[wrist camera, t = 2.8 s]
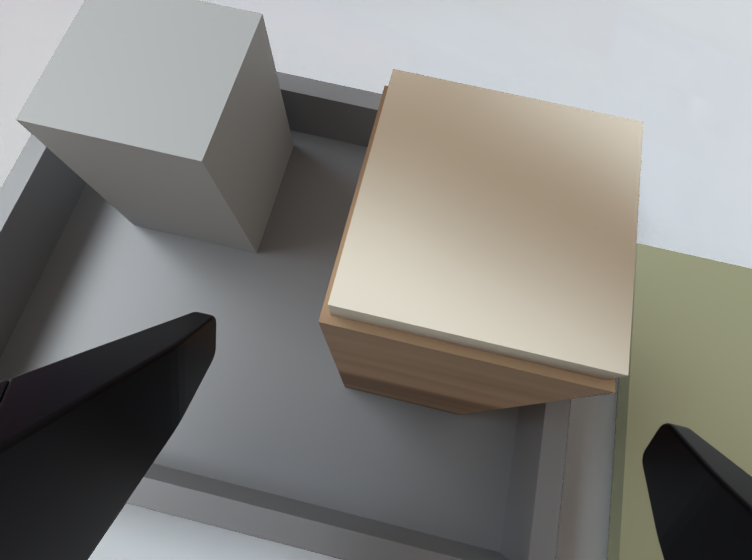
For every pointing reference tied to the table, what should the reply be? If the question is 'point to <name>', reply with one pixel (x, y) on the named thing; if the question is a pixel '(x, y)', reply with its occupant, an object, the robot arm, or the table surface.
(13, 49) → the table surface
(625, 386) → the olive board
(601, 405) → the table surface
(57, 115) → the grey box
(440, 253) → the walnut box
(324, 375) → the tray
